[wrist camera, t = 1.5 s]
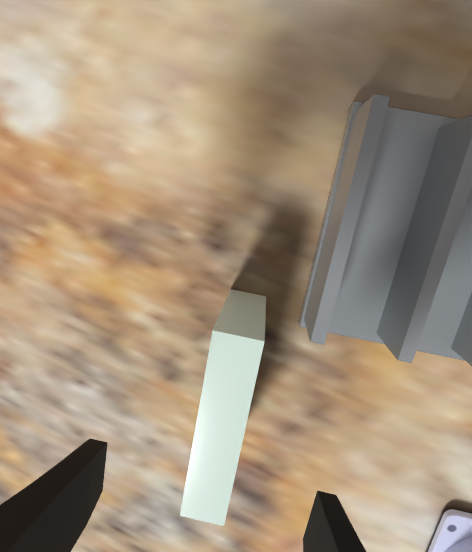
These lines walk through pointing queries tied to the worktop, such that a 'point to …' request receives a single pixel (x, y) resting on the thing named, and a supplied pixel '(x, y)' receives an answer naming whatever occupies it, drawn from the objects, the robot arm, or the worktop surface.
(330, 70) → the worktop surface
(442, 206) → the dish rack
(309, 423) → the worktop surface
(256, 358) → the celadon plate
